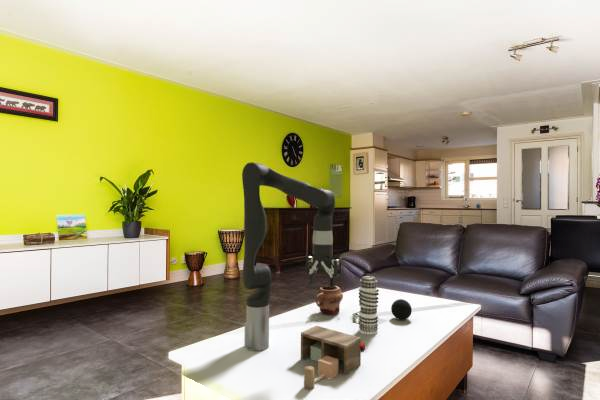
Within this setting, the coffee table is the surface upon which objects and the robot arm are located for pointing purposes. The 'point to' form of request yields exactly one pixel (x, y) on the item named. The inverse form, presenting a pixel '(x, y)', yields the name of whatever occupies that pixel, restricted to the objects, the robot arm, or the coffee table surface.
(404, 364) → the coffee table surface
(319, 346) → the shelf block
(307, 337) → the shelf
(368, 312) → the stacked ring tower
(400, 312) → the decorative ball
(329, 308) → the decorative planter
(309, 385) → the tethered block
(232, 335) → the coffee table surface
